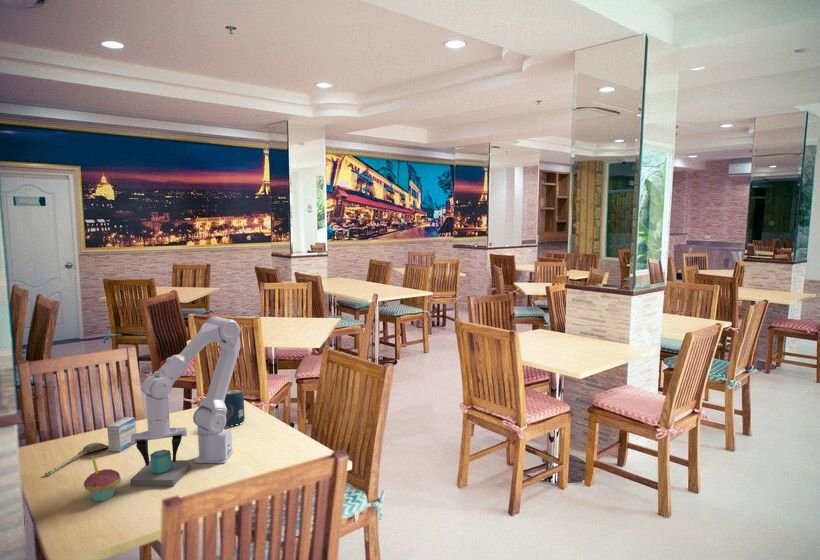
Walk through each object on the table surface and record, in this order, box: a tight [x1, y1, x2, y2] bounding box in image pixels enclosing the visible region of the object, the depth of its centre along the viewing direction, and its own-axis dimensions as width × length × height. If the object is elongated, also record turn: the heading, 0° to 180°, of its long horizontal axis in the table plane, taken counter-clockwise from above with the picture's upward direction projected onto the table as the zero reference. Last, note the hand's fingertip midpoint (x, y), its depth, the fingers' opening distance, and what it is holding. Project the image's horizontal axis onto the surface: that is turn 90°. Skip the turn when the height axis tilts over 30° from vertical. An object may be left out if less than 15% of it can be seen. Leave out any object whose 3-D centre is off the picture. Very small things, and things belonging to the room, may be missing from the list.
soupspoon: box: [44, 442, 109, 477], centre depth 169 cm, size 22×3×7 cm
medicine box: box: [106, 416, 138, 453], centre depth 177 cm, size 8×4×9 cm, turn 168°
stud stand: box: [129, 459, 192, 488], centre depth 158 cm, size 12×12×6 cm
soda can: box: [224, 388, 246, 426], centre depth 197 cm, size 7×7×12 cm
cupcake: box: [83, 455, 122, 502], centre depth 146 cm, size 9×8×12 cm
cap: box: [149, 449, 172, 473], centre depth 157 cm, size 5×5×4 cm
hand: (161, 462), depth 157 cm, fingers open, 6 cm apart
